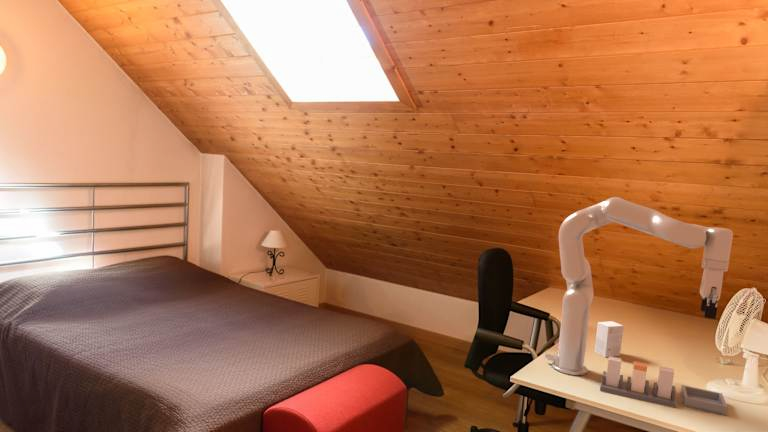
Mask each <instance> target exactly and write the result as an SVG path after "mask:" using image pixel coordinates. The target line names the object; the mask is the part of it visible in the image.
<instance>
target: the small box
mask: <svg viewBox="0 0 768 432" xmlns="http://www.w3.org/2000/svg"><path fill="white" fill-rule="evenodd" d="M623 332H624V325H623V324H620V323H618V322H615V321H612V320H611V321H610V320H609V321H598V322H597V326H596V335H595V344H594V345H595V346H594V353H595V354H598V355H599V356H601V357H604V358H609V356H612V357H621V351H622V341H623Z"/></svg>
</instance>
